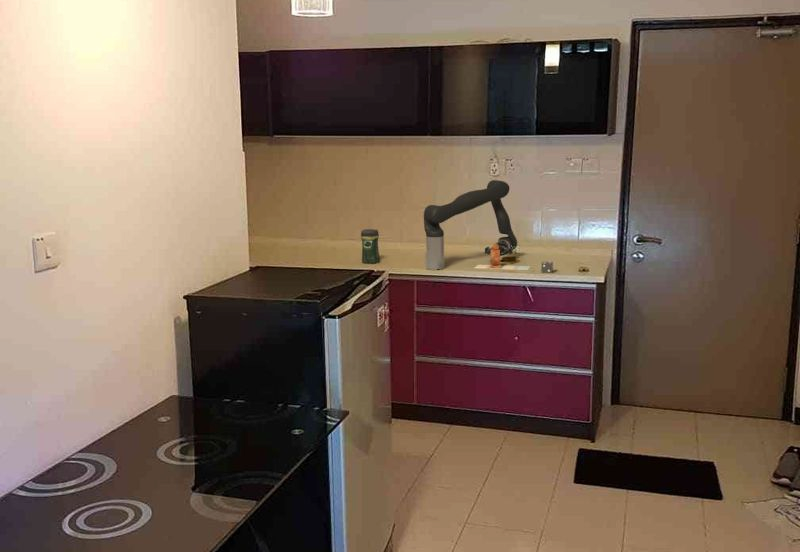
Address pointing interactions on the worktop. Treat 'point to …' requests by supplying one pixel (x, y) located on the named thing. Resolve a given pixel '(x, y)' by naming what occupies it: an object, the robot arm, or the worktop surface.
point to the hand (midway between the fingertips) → (496, 252)
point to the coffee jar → (370, 246)
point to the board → (504, 267)
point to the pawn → (495, 256)
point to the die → (547, 267)
